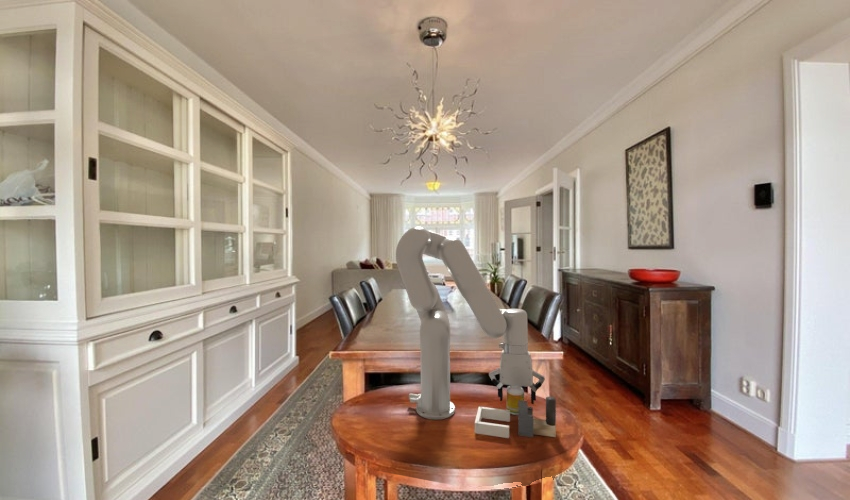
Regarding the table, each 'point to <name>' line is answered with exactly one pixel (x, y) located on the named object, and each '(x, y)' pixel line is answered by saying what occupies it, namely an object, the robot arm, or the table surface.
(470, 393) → the table surface
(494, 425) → the frame
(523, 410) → the guide block
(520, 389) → the supplement bottle
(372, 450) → the table surface
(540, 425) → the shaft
